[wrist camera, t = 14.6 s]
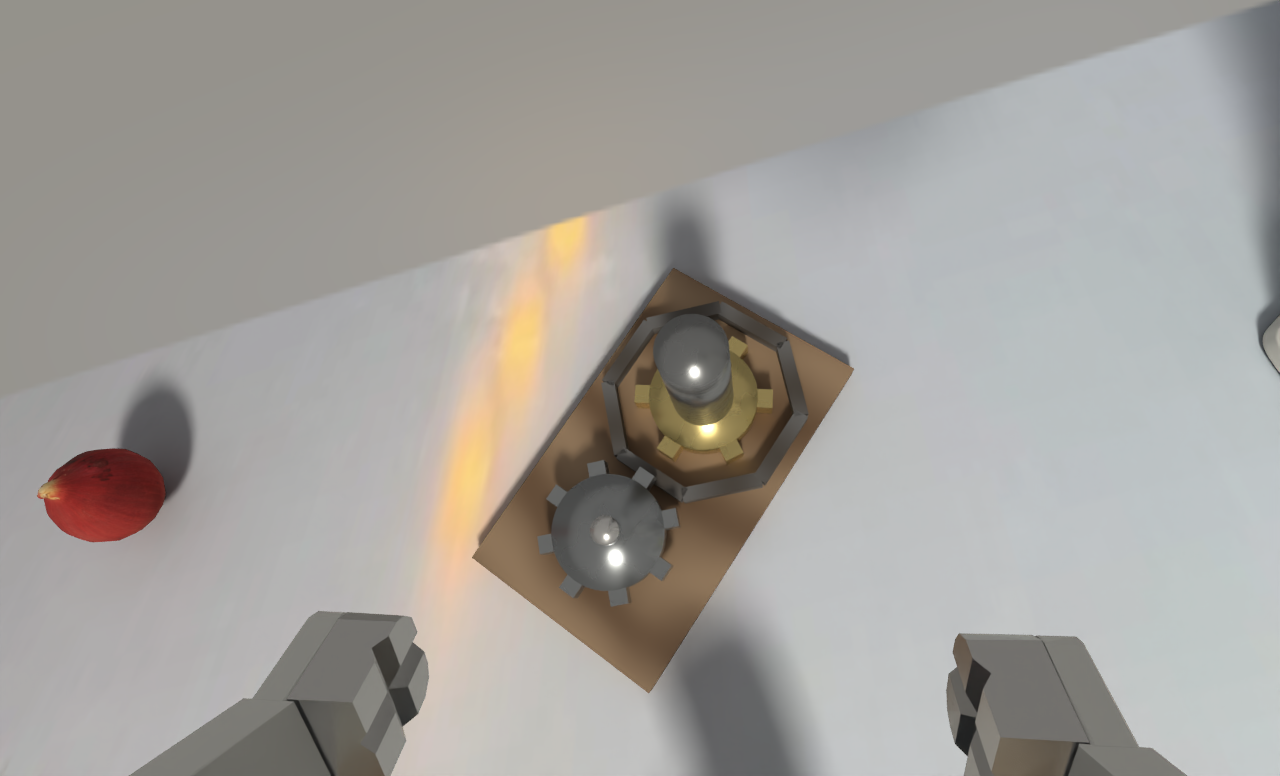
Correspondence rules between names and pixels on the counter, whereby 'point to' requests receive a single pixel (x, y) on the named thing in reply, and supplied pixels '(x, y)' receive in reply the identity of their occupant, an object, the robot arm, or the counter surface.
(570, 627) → the gear board
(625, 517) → the gear
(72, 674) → the counter surface
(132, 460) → the onion
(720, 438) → the gear
